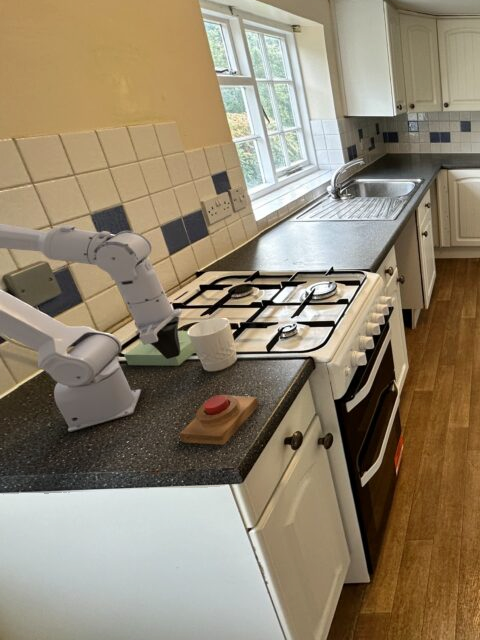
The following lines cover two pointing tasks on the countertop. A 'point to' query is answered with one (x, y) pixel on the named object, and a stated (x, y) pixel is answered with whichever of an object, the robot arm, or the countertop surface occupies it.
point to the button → (216, 404)
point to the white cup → (213, 343)
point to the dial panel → (154, 357)
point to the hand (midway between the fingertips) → (173, 355)
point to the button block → (219, 422)
